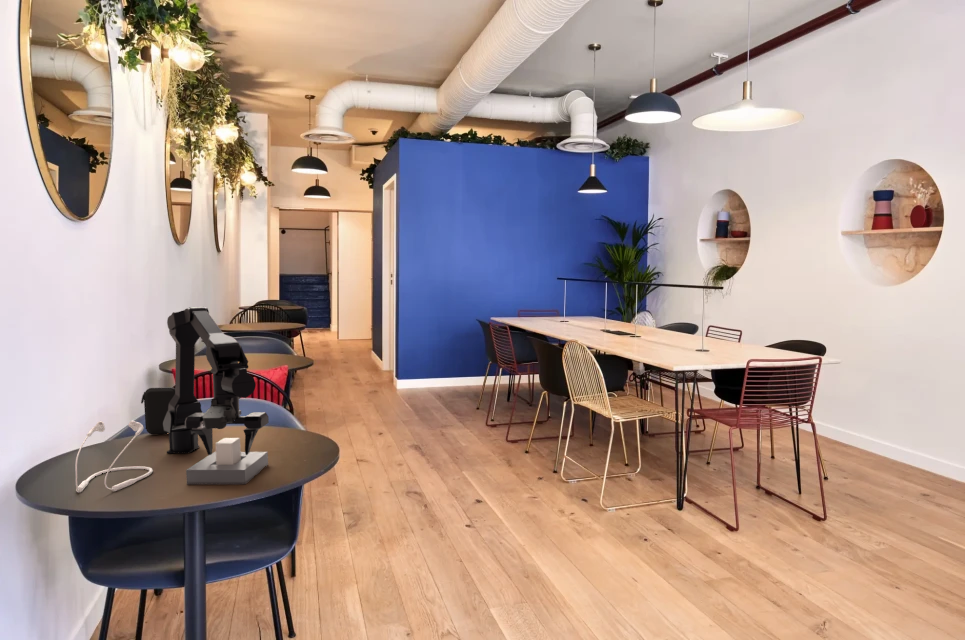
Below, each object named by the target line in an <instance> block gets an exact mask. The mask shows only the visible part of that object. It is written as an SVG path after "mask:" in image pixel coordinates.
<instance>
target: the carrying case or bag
mask: <svg viewBox="0 0 965 640" xmlns="http://www.w3.org/2000/svg"><path fill="white" fill-rule="evenodd" d="M174 395H175V388H174V387H170V386H169V387H167V386H166V387H149V388H147V389H146V390H145V391H144V392H143V394H142V396H141V400H140V403H141V404H143V405H144V424H145V430H146V433H148V434H149V435H151V434H167V433H169V432H167V431H164V427H163V421H164V419H165V416H166V413H167V411H168V406H169V402H170V401H171V399H172V398H173V396H174ZM167 435H168V434H167Z"/></svg>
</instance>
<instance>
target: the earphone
mask: <svg viewBox="0 0 965 640" xmlns="http://www.w3.org/2000/svg"><path fill="white" fill-rule="evenodd" d="M128 427H129V428H131V429H132V430H133V431H134V433H135V434H134V436H133V438H131V440H130V441H129V442H128V443H127V445H125V447H124V448H123V449H122V450H121V451H120V453H119V454H118V455H117V456H116V458H115V459H114V460H113V462H112V463H111V465H109V467H108V469H104V470H100V471H97V472H95V473H93V474H92V475H90V476H88V477H87V478H86V479H85V480H82V482H81V483H80V484H79V485H78V461H79V456H80V452H81V451H82V448H83V446H84V444H85V442H86V441H87V439H88V438H89V437H92V435H93V434H94V432H99V433H102V432H105V430H106V427H105V423H104V422H103V421H101V420H100V421H97V422H96V424H95V426H93V427H92V428H91V429H90V430H89V431H88V433H86V437H85V438H84V440H83V442H82V443H81V445H80V447H79V449H78V452H77V455H76V457H75V466H74V467H75V468H74V469H75V487H76V489H75V491H76V493H82V492H83V491H84V489H85V488H86V487H87V486H88V485H89V482H90V481H91V480H92V479H94V478H95V476H96V477H98V476H100V475H102V473H103V474H105V477H104V486H105V488H106V489H108V490H111V491H112V492H116V491H120V490H121V489H122V490H123V489H124V488H126V487H129V486H131V485H133V484H135V483H136V482H138V481H140V480H143V479H144V478H147V477H148V476H151V474H152V473H154V472H153V471H154V470H153V468H152V467H150V466H142V465H141V466H140V465H139V466H138V465H137V466H134V465H133V466H122V467H121V466H119V467H113V466H114V464H115V463H116V462H117V460H118V459H119V457H121V455H122V454H123V452H124V451H125V450H126V449H127V448H128V447H129V445H130V444H132V442H133V441H134V439H136V438H137V436H139V435H140V434H141V433H142V432H143V431H144V425H143V424H142V423H141V422H138V421H135V420H130V421H129V423H128ZM112 467H113V468H112ZM144 469H145V470H146V471H147V472H146V473H145V474H142V475H140V476H137V477H136V478H130V479H127V480H125V481H123V482H120V483H118V484H115V485H113V486H111V487H108V485H107V477H108V475H109V473H111V472H116V471H125V470H144ZM110 471H111V472H110ZM106 472H107V473H106Z"/></svg>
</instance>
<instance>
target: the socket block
mask: <svg viewBox="0 0 965 640" xmlns="http://www.w3.org/2000/svg"><path fill="white" fill-rule="evenodd" d="M267 465H268V466H269V452H268V451H249V454H248V455H246V454H245V451H241V461H239V462H238V463H237V464H235V465H216V451H214V452H213V451H212V454H211V455H207V456H205V457H204V458H202V459H200V460H199V461H198V462H196V463H195V464H192V465H191V466H190V467H189V468H187V469H186V470H185V475H186V478H185V479H186V485H246V484H248V483H249V482H250V481H251V480H252V479H254V478H255V477H256V476H257V475H258V474H260V471H261V470H262V469H263V468H264V467H265V466H266V467H268V466H267ZM266 467H265V468H266ZM265 468H264V469H265ZM264 469H263V470H264ZM263 470H262V471H263ZM262 471H261V472H262ZM255 475H256V476H255ZM254 476H255V477H254Z"/></svg>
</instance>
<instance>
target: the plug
mask: <svg viewBox="0 0 965 640" xmlns="http://www.w3.org/2000/svg"><path fill="white" fill-rule="evenodd" d="M215 452H216V465H235V464H237V463H238V462H239V461H241V452H242V451H241V437H223V438H222V439H220V440H219V441H216V442H215Z"/></svg>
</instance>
